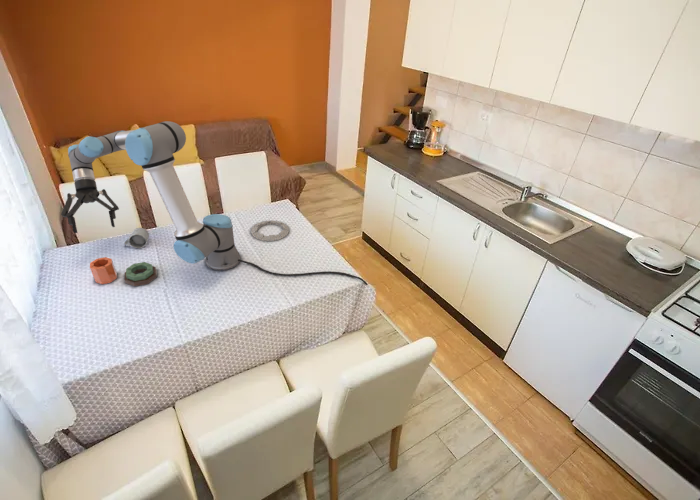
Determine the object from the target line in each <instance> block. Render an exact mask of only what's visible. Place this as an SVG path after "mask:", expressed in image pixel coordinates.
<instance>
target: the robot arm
mask: <svg viewBox="0 0 700 500" xmlns="http://www.w3.org/2000/svg"><path fill="white" fill-rule="evenodd" d="M186 142H187V135H186V132H185V130H184V129H183V127H182V126H181V125H180V124H178V123H176V122H174V121H167V120H165V121H161V122H158V123H154V124H150V125H147V126H143V127H139V128H137V129H131V130H117V131H114V132H111V133H108V134H104V135H100V136H97V137H96V136H91V135H88V136H86V137H84V138H83V139H81V141H79V143H78V144H72V145H70V146H69V147H67V155H68V158H69V164H70V168H71V173H72V178H73V182H74V183H73V184H74V188H75V193H67V195H66V197H67V198H66V201H65V204H64V206H63V209H62V211H61V217H63V218H67V223H68V224H69V225H70V226H71V227H72V231H73V232H72V233H75V234H77V233H78V227H77V223H76V218H75V217H74V215H75V214H76V213H77V211H78V210H79V209H80V208H81V206H82V205H83V204H89V203H92V204H93V203H95V202H97V203H98V204H99V205H102V206H103V207H104V208H106V209H107V210H108V215H109V219H110V220H109V221H110V225H111V227H112V228H115V227H116V226H115V220H116V218H117V216H116V211H119V210H120V207H119V206H118V205H117V204H116V203H115V201H114V200H113V199H112V198H111V197H110V196H109V194H108V192H107V190H106V189H105V188H103V189H102V190H98V186H97V182H96V177H95V173H94V167H93V163H94V162H95V161H96V159H98V158H102V157H104V156H107V155H111V154H112V153H116V152H119V151H126V153H127V156H128V158H129V160H131V161H132V162H133V163H134V164H135V165H137V166H140V167H141V168H142V170H143V171H146V172H148V173H149V175H150V177H151V179H152V181H153V183H154V185H155V187H156V189H157V192H158V194H159V196H160V198H161V200H162V202H163V205H164V206H165V208H166V211H167V213H168V215H169V217H170V219H171V221H172V224H173V226H174V228H175V232H174V234H173V235H174V237H175V239H176V240H175V241H174V243H173V246H172V248H173V250H174V252H175V254H176V255H177V256H178V257H179V258H180V259H181V260H182V261H184V262H186V263H188V264H193V265H194V264H197V263H200V261H203V260H205V264H206V266H207V268H209V269H211V270H214V271H227V270H230V269H233V268H235V267H236V266H238V265H239V264H240V262H241V263H244V264H246V265H247V264H248V265H251V266H253V267H255V268H256V269H259V270H260V271H262V272H264V273H266V274H271V275H275V276H282V277H296V276H297V277H298V276H310V275H311V276H312V275H319V274H320V275H322V274H324V275H325V274H333V275H334V274H335V275H341V276H342V275H343V276H347V277H351V278H354V279H357V280H360V281H361V282H362V283H364V285H366V286H368V285H369V284H368V283H367V281H366V280H365V279H364V278H362V277H360V276H357V275H354V274H350V273H346V272H341V271H313V272H304V273H303V272H302V273H280V272H273V271H269V270H266V269H265V268H262V267H260V266H259V265H257V264H255V263H253V262H250V261H246V260H243V259H241V253H240V252H239V250H238V249H237V246H236V245H235V235H234V229H233V222H232V219H231V217H229V216H228V215H225V214H221V213H212V214H208V215H205V216H204V217H203V218H202V223H201V222H199V221H198V219H197V217H196V214H195V212H194V210H193V208H192V206H191V204H190V202H189V199H188V196H187V194H186V192H185V190H184V187H183V185H182V183H181V181H180V179H179V176H178V174H177V171H176V169H175V167H174V164H175V162H176V159H175V156H174V154H175V153H178V152H179V151H181V150H182V149H183V148H184V146H185V145H186ZM100 195H101V196H102V197H105V199H106V200H107V201H108V202H109V203H110V205H109V204H108V203H106V201H103V200H102V199H100V197H99V196H100ZM75 198H77V200H76V202H75V203H74V204H73V201H74V200H75ZM72 204H73V206H72ZM71 206H72V207H71ZM70 208H71V209H70Z"/></svg>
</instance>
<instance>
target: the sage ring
mask: <svg viewBox="0 0 700 500" xmlns="http://www.w3.org/2000/svg"><path fill="white" fill-rule="evenodd" d="M153 266H154V265H153V263H149V262H145V261H141V262H136V263H132V264H131V265H130V266H128V267H127V268H126V269H125V272H126V277H127V279H130V280H133V281H138V280H143V279H147V278H148V277H149V276H151V275H152V274H153ZM143 268H144V269H147V270H146V271H145V272H141V273H137V274H134V273H133V272H134V271H136V270H137V269H143Z"/></svg>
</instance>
